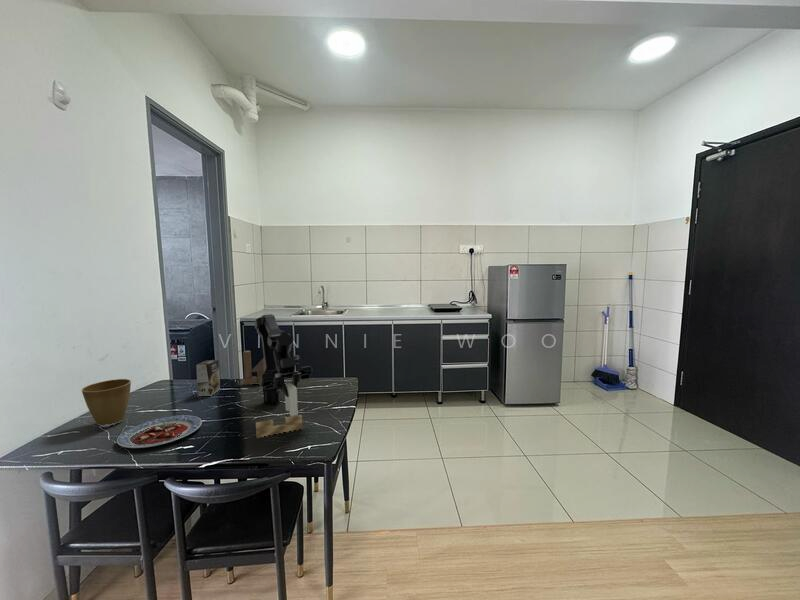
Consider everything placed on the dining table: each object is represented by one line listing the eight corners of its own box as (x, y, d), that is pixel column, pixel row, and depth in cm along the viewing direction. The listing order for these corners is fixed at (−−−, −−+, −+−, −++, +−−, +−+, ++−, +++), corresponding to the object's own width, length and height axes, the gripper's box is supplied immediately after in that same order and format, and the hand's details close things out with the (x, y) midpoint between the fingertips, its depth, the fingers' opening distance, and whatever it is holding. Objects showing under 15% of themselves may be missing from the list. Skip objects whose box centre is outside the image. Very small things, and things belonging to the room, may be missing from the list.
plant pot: (99, 418, 144) (95, 380, 143) (140, 414, 148) (137, 377, 146) (75, 434, 130) (71, 392, 128) (122, 429, 133) (118, 388, 132)
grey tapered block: (285, 409, 132) (284, 383, 132) (292, 408, 134) (291, 382, 133) (291, 416, 126) (289, 389, 125) (297, 414, 127) (296, 388, 127)
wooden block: (264, 384, 184) (262, 351, 183) (243, 385, 183) (241, 352, 182) (266, 382, 188) (264, 349, 187) (246, 383, 187) (244, 350, 186)
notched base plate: (256, 438, 124) (255, 424, 124) (256, 435, 126) (255, 422, 126) (302, 429, 131) (302, 416, 130) (301, 427, 133) (301, 414, 132)
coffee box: (210, 397, 167) (208, 364, 166) (197, 397, 167) (195, 364, 166) (220, 390, 176) (219, 359, 175) (208, 390, 176) (206, 359, 175)
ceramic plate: (184, 449, 118) (183, 440, 118) (98, 457, 114) (98, 448, 113) (212, 418, 143) (211, 411, 143) (143, 423, 139) (142, 416, 139)
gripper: (260, 352, 126) (267, 390, 118) (310, 345, 136) (321, 380, 128) (257, 368, 134) (264, 405, 125) (305, 361, 144) (314, 394, 135)
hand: (291, 395), depth 128 cm, fingers closed on grey tapered block, 2 cm apart
